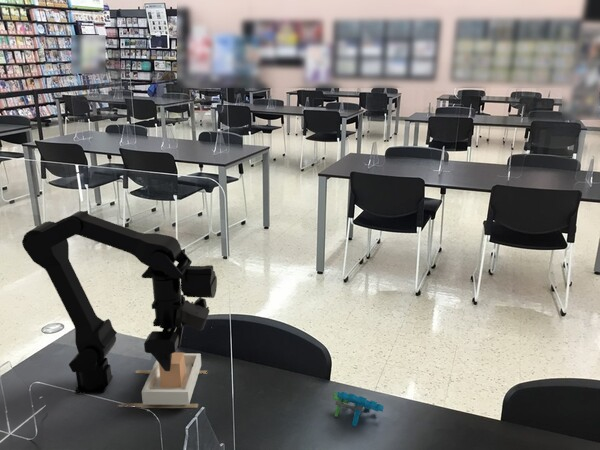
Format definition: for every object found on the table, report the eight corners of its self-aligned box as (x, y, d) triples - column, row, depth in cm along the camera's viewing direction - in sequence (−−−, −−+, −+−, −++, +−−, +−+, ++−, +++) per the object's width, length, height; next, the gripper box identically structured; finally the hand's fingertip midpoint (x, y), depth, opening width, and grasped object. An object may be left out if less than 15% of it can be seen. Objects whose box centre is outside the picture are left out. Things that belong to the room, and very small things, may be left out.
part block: (160, 387, 113) (158, 363, 111) (166, 375, 118) (164, 352, 116) (181, 387, 113) (179, 363, 111) (185, 375, 118) (183, 352, 116)
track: (117, 407, 109) (117, 406, 109) (136, 370, 122) (136, 370, 122) (197, 408, 110) (197, 407, 110) (207, 371, 123) (207, 370, 122)
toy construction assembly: (391, 408, 108) (374, 396, 100) (384, 437, 105) (367, 426, 98) (345, 396, 114) (326, 384, 107) (338, 423, 111) (318, 412, 104)
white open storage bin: (143, 407, 109) (141, 391, 108) (160, 367, 123) (159, 353, 122) (189, 407, 109) (188, 392, 108) (201, 368, 123) (200, 353, 122)
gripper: (197, 316, 100) (201, 384, 105) (212, 277, 118) (215, 337, 123) (140, 316, 100) (147, 384, 105) (164, 277, 118) (168, 337, 122)
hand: (172, 358), depth 114 cm, fingers open, 9 cm apart
